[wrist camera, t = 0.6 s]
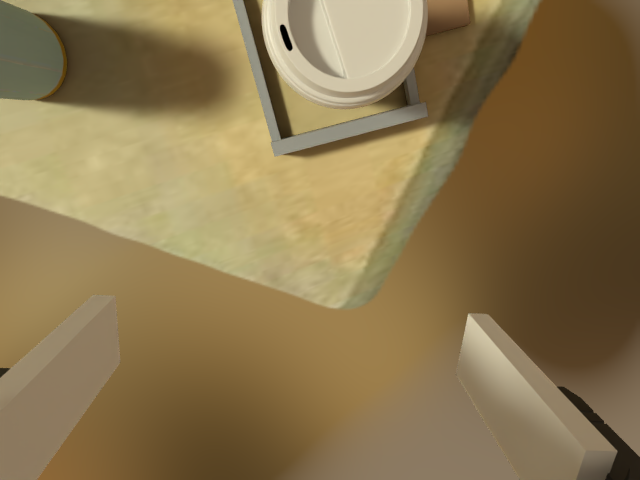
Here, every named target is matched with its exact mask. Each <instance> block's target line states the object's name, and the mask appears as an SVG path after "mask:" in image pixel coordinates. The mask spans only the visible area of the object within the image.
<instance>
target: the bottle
mask: <svg viewBox="0 0 640 480" xmlns="http://www.w3.org/2000/svg"><path fill="white" fill-rule="evenodd" d="M66 70H67V58H66V53H65V48H64V46H63V44H62V42H61V40H60V38H59V36H58V34H57V33H56V32H55V31H54V29H53V28H52V27H51V26H50V25H49V24H48V23H47V22H46V21H44V20H43V19H41V18H40V17H38V16H37V15H35V14H33V13H31V12H28V11H26V10H24V9H21V8H19V7H16V6H13V5H11V4H8V3H6V2H3V1H1V0H0V98H4V99H18V100H39V99H43V98H45V97H48V96H50V95H52V94H53V93H54V92H55V91H56V90H57V89H58V88H59V87H60V86H61V85H62V82H63V80H64V78H65V76H66Z"/></svg>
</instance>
